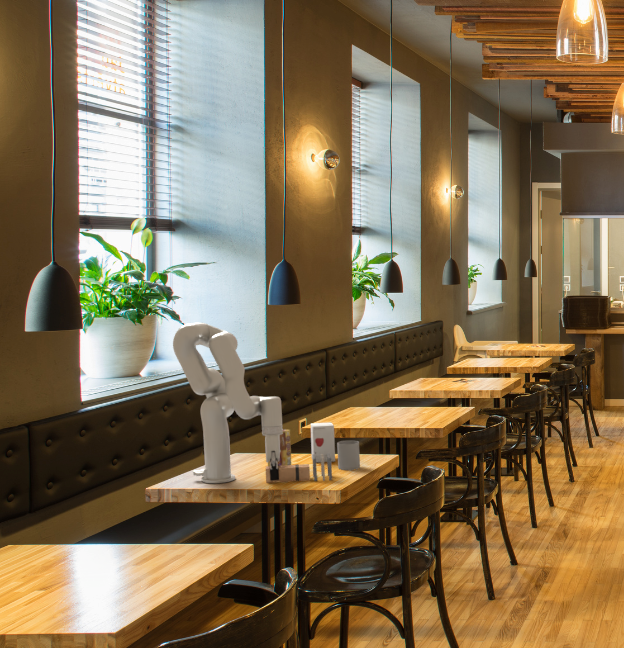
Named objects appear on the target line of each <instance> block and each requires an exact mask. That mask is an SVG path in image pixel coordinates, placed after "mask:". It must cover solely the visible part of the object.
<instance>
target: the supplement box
mask: <svg viewBox="0 0 624 648" xmlns="http://www.w3.org/2000/svg"><path fill="white" fill-rule="evenodd" d="M335 442H336V441H335V426H334V424H333V423H332V422H316V423H314V422H313V423H310V443H311V444H310V445H311V446H310V447H311V449H310V450H311V455H312V454H315V456H316V463H321V454H323V457H324V463H327V454H330V456H331V463H332V462H336V447H335V446H336V445H335V444H336V443H335ZM311 460H312V461H313V457H312V456H311Z"/></svg>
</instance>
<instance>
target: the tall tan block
mask: <svg viewBox="0 0 624 648" xmlns="http://www.w3.org/2000/svg"><path fill="white" fill-rule="evenodd" d="M278 469H279V480H272V481H271V480H270V466H268V465H267V466H265V482H266V483H283V482H285V483H288V482H306V481H311V472H310V464H306V463H305V464H291V465H283V466H278Z"/></svg>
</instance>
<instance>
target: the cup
mask: <svg viewBox="0 0 624 648" xmlns="http://www.w3.org/2000/svg"><path fill="white" fill-rule="evenodd" d="M336 447H337V449H336V450H337V466H338V467H337V468H338V469H339V470H340V469H341V471H355V470H354V469H356V470H359V469H360V468H361V462H360V461H361V460H360V458H361V457H360V441H358V440H341V441H338V442H337V443H336ZM358 468H359V469H358Z"/></svg>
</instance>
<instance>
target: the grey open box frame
mask: <svg viewBox="0 0 624 648" xmlns="http://www.w3.org/2000/svg"><path fill="white" fill-rule="evenodd" d="M312 457H313V460H312V477H313V481H314V482H317V481H318V473H317V471H318V470H317V468H318V467H317V462H316V456H315V454H312V453H311V458H312ZM326 464H327V477H328V479H329V481H332V480H333V471H332V469H333V468H332V467H333V466H332V462H331V456H330V454H327V462H326ZM320 469H321V471H320V472H321V473H320V474H321V477H322V481H323V482H324V481H326V475H325V474H326V473H325V472H326V471H325V462H324V457H323V454H321V462H320Z"/></svg>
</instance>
